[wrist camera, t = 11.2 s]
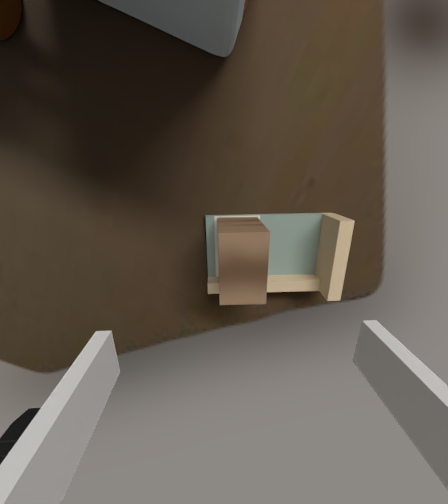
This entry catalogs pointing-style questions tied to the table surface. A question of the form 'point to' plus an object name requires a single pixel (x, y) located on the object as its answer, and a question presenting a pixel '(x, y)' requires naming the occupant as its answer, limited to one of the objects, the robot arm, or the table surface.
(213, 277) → the toy stand
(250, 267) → the block
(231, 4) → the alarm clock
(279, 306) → the table surface
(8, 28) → the mug
